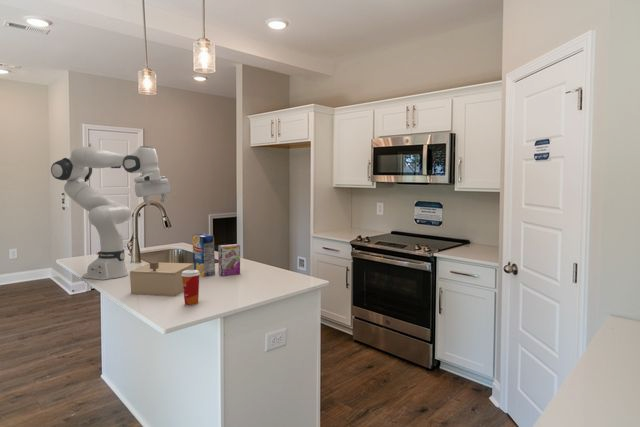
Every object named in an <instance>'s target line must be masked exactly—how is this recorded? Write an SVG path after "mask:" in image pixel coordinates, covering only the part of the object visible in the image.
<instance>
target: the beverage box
mask: <svg viewBox="0 0 640 427" xmlns="http://www.w3.org/2000/svg"><path fill="white" fill-rule="evenodd" d="M191 235H192V259H193V260H192V263H193V264H194V270H198V271H199V273H200V275H199V277H203V278H208V277H211V276H215V275H216V263H215V261H216V259H215V235H213V234H207V233H198V234H191Z"/></svg>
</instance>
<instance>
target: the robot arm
mask: <svg viewBox="0 0 640 427" xmlns="http://www.w3.org/2000/svg"><path fill="white" fill-rule="evenodd" d="M113 167H123V169H124V170H125V172H126V173H131V174H140V173H141V175H138V176H137V177H135V178H134V179H133V181H134V192H135V196H136V197H137V198H142V199H143V200H144V202H145V205H146V206H150V205H152V202H151V200H149V197H150V196H156V195H160V196H161V198H160V204H161V203H166V198H167V197H166V196H167V194H169V193H171V192H172V188H171V184H170V182H169V178H168V177H167V176H165V175H164V176H162V175H161V170H160V168H159V158H158V154H157V150H156V148H154V146H146V145H145V146H143V145H140V146H139V147H138V148H137V150H135V151H134V152H132V153H130V154H122V153H118V152H113V151H111V150H107V149H103V148H99V147H95V146H78V147H75V148H74V149H73V150H72V151H71V154H70V157H69V158H67V157H63V158H61V159H59V160H57V161H55V162H54V163H53V164H51V167H50V172H51V176H53V178H54V179H56V180H58V181H59V180H60V181H66V183H65V184H64V186H63V187H64V188H63V190H64V193H66V195H68V197H69V198H70V199H71V200H72V201H73V202H74V203H76V204H77V205H79V206H80V207H81V208H83V209H84V210H85V211H86V212H88V215H87V218H88V221H89V223H90V224H91V225H92V226H94V228H95V229H96V230H97V231H96V232H97V233H98V237H99V242H100V243H99V244H100V251H98V252H97V253H95V255H96V256H97V255H98V256H97V258H96V259H95V260H93V261H92V262H91V263H90V264H89V265H88V266H87V271H86V273H84V274H83V275H82V278H83V279H92V280H101V281H103V280H109V279H110V280H111V279H116V278H117V279H118V278H122V277H127V276H128V274H129V273H128V271H127V267H126V263H125V262H126V261H125V257H126V256H125V249H124V238H123V237H124V236H123V234H122V233H120V232H119V231H118V228H117V225H120V224H123V223H125V222H127V221H129V219H130V218H131V213H132V212H131V209H130V208H129V207H128V206H127V205H126V204H122V203H119V202H117V201H115V200H112V199H111V198H108V197H106V196H104V195H103V194H101V193H99V192H98V191H96V190H95V189H94V188H92V187H91V186H90V185H88V184H87V183H86V182H88V181H89V180H90V177H91V176H92V174H93V169H105V168H113Z"/></svg>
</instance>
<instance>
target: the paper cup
mask: <svg viewBox="0 0 640 427" xmlns="http://www.w3.org/2000/svg"><path fill="white" fill-rule="evenodd" d="M199 275H200V273H199V271H198V270H186V271H183V272H182V274H181V276H182V280H183V300H184V305H186V306H195V305H197V304H199V292H200V276H199Z"/></svg>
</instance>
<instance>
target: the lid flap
mask: <svg viewBox="0 0 640 427" xmlns="http://www.w3.org/2000/svg"><path fill="white" fill-rule="evenodd" d="M193 265H194V264H193V262H192V263H189V262H188V263H187V262H157V261H151V262H149V263H148V264H145V265H143V266H140V267H138V268H135V269H132V270H130V271H129V274H130V273H149V274H177V273H179V272H181V271H183V270H185V269H187V268H189V267H191V266H193Z"/></svg>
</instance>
